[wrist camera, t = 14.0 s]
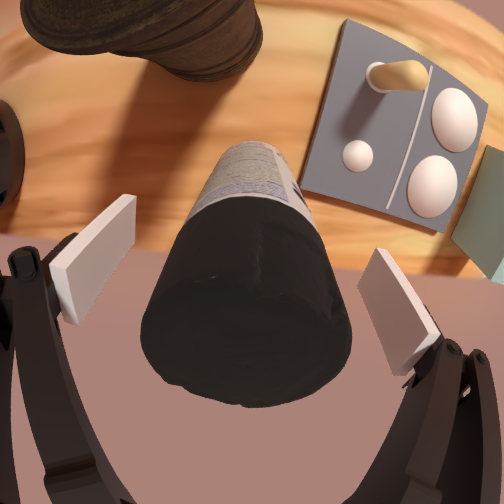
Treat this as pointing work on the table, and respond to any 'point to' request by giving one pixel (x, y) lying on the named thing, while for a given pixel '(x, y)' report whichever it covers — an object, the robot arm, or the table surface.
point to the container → (152, 32)
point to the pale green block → (485, 218)
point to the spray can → (248, 291)
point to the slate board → (393, 131)
